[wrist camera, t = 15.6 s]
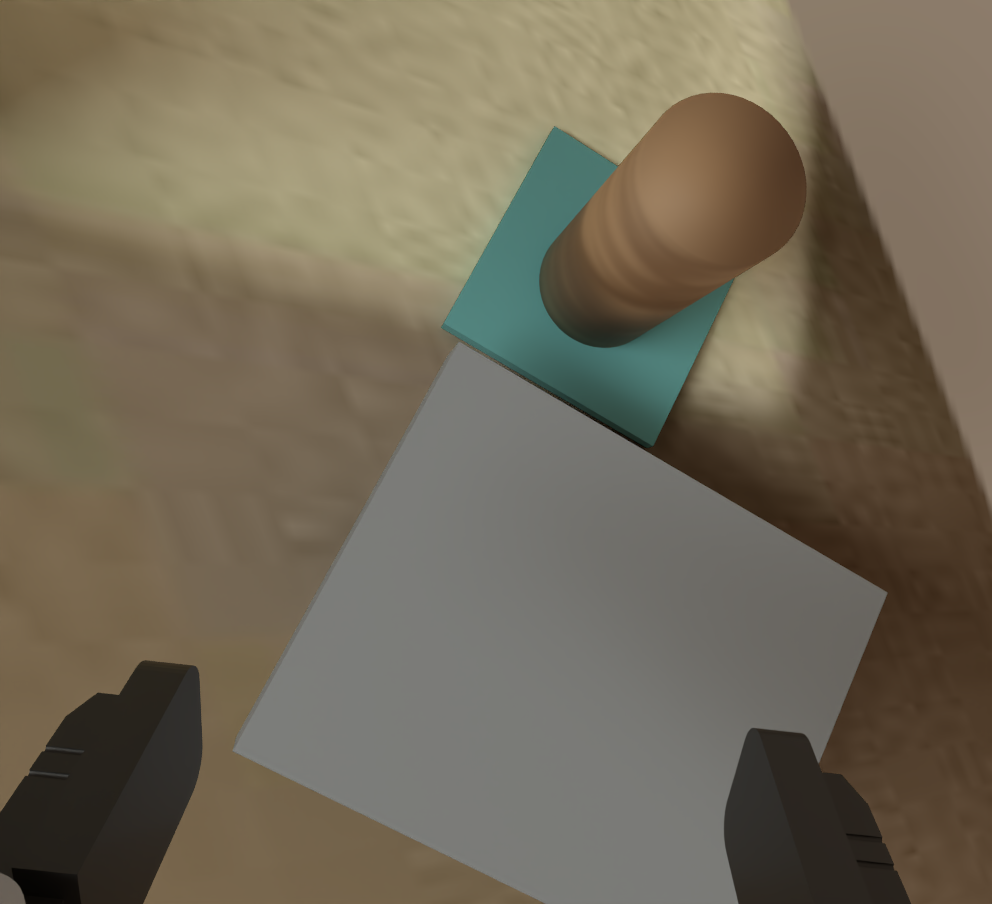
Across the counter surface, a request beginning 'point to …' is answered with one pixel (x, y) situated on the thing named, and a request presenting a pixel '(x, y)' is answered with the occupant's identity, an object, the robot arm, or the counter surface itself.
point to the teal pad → (536, 338)
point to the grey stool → (555, 651)
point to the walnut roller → (675, 220)
